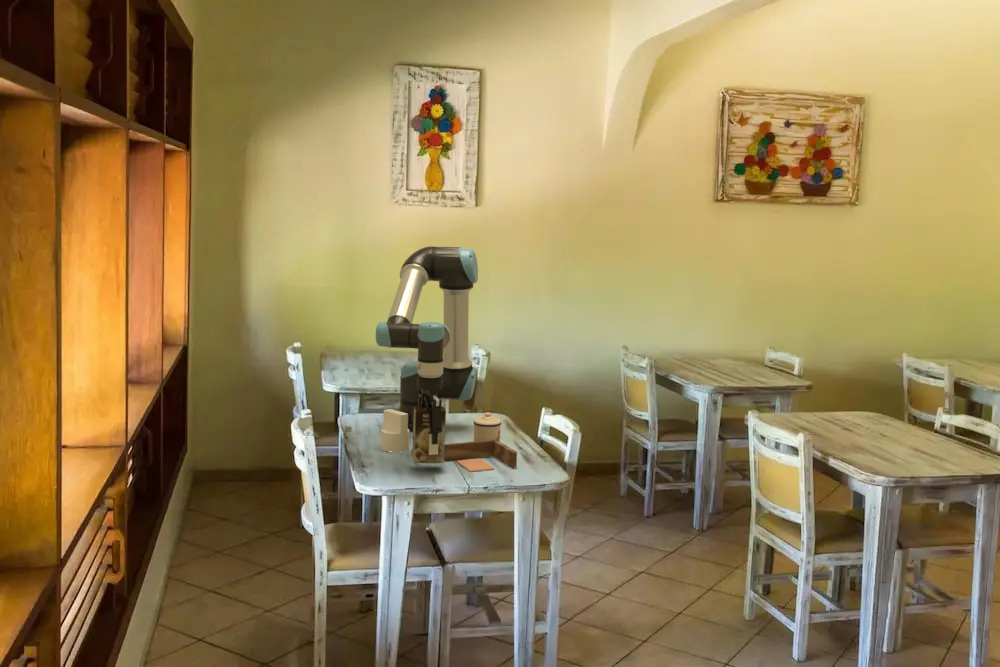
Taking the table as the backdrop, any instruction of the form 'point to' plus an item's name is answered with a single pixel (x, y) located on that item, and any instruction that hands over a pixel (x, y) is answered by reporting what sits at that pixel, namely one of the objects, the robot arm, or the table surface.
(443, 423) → the coffee box
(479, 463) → the terracotta mat
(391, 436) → the base with upright slab
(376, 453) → the table surface
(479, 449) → the walnut corner walls
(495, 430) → the teacup with lid
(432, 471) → the table surface
